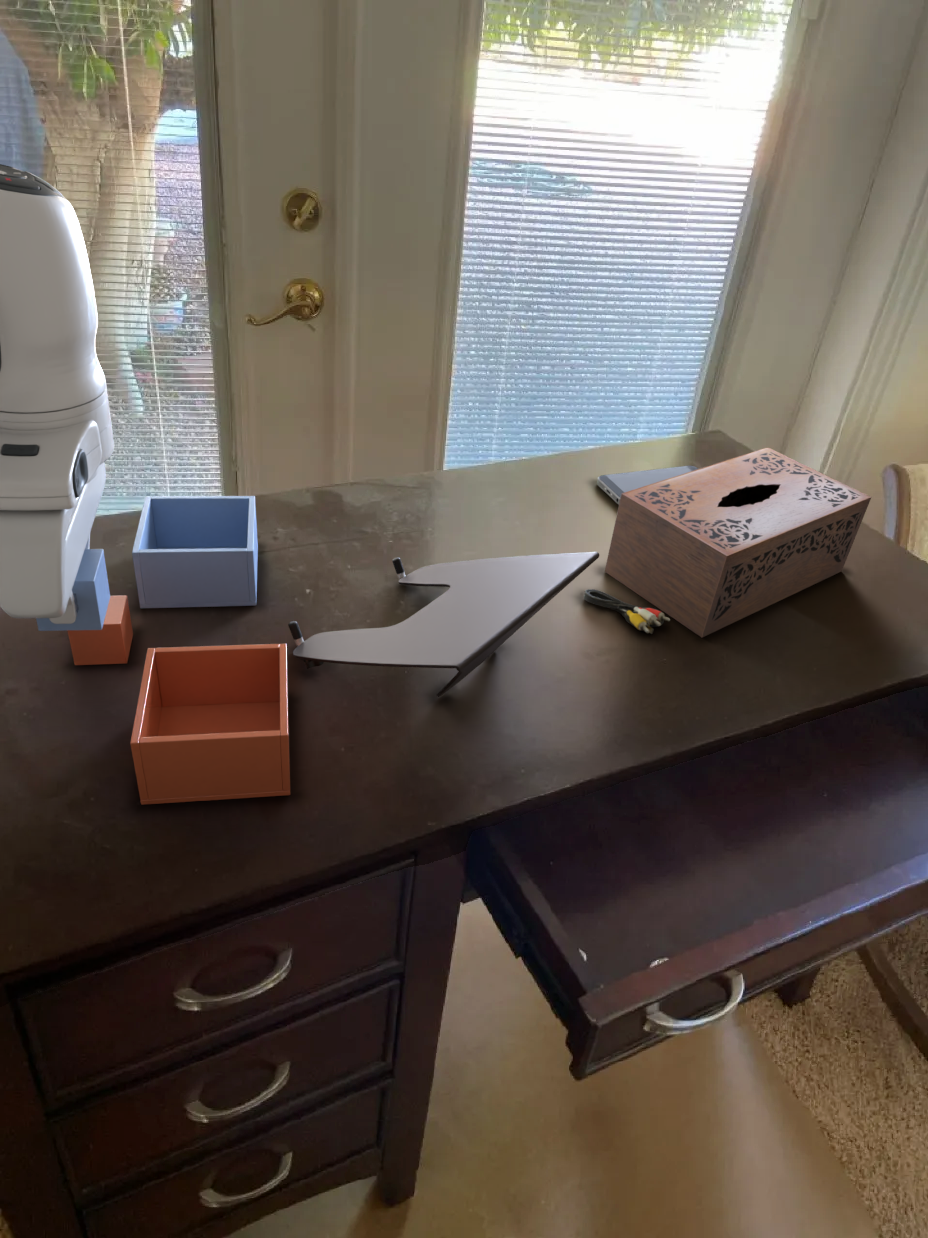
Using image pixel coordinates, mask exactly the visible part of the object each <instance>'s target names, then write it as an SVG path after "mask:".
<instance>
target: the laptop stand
mask: <svg viewBox="0 0 928 1238" xmlns="http://www.w3.org/2000/svg"><path fill="white" fill-rule="evenodd" d="M599 557H600V553H599V552H598V551H584V552H583V551H582V552H562V553H545V554H543V553H542V554H529V555H527V554H526V555H516V556H500V557H489V558H488V557H487V558H478V559H468V560H458V561H447V562H441V563H440V562H439V563H434V564H429V565H426V566H422V567H419V568H418V569H416V570H413V571H411V572H410V573H408V574H406V573H405V569H404V565H403V562H402V559H401V558H400V557H394V558H393V559H392V560H391V561H392V564H393V567H394V571H395V573H396V575H397V578H398V585H401V586H411V587H412V586H414V587H437V588H438V587H441V588H442V587H443V588H444V587H445V588H449V589H447V590H446V591H444V592H443V593H442V594H441V595H439V596H437V598H435V599H434V600H432V601H430V603H427V605H425V606H424V607H422V608H421V609H420V610H418V611H416V612H415V613H414V614H412V615H410V616H409V617H408V618H406V619H405V620H403V621H401V622H398V623H396V624H393V625H389V626H384V627H371V628H355V629H342V630H333V631H323V632H318V633H316V634H314V635H311V636H310V637H308V638H306V639H305V640H304V637H303V634H302V631H301V629H300V625H299V623H298V621H297V620H293V621H290V622H288V625H287V626H288V628H289V631H290V634H291V636H292V639H293V641H294V643H295V645H296V647H295V648H294V650H293V651H292V655H293V657H294V658H295V659H300V660H303V662H304V666H305V667H306V669H308V670H309V669H312V668H314V667H320V666H323V665H324V663H330V664H339V665H354V666H371V667H387V668H414V669H415V668H417V669H419V668H420V669H456V671H457V672H456V674H455V675H454V676H453V678H451V680H449V682H448V683H446V685H445V686H444V687H443V688H442V689H441V690H440V691H438V693H436V696H437V698H440V697H442V696H443V695H444V694H446V692H448V691H449V690H451V689H452V688H454V687H455V686H456V685H458V683H460V682H461V681H462V680H463V679H464V678H466V677H467V676H468V675H469V674H470V673H472V672H473V671H474V670H475V669H476V668H477V667H479V666H480V665H481V664H483V663H485V661H486V660H487V659H488V658H489V657H490V656H491V655H493V653H494V652H496V650H498V649H499V648H500V647H501V646H502V645H503V644H504V643H505V642H506V641H507V640H508V639H510V638H511V637H512V636H513V635H514V634H515V633H516V632H517V631H518V630H519V629H521V628H522V627H523V626H524V625H525V624H526V623H527V622H528V621H530V619H531V618H533V617H534V616H535V615H536V614H537V613H538V612H540V610H542V609H543V608H544V607H545V606H546V605H547V604H548V603H549V602H551V600H553V599H554V598H555V597H556V596H557V595H558V594H559V593H561V592H562V591H563V590H564V589H565V588H566V587H568V585H569V584H571V583H572V582H573V581H574V580H575V579H577V577H578V576H580V575H581V574H582V573H583V572H584V571H586V569H588V568H589V567H590V566H591V565H592V564H593V563H594V562H595V561H597V560H598V558H599Z"/></svg>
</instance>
